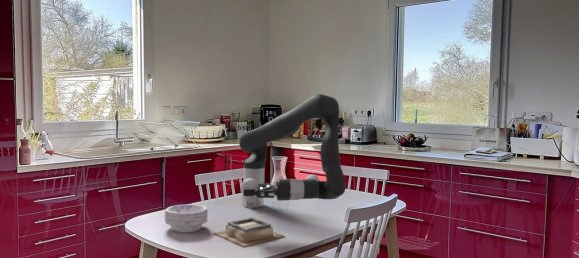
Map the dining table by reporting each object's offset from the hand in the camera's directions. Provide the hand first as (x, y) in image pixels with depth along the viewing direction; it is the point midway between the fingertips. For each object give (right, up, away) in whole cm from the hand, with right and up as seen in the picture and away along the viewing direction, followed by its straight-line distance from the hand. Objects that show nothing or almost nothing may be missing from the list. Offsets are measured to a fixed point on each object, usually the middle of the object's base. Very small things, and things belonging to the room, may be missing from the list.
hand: (242, 191), depth 167 cm
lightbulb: (+2, -7, +1) cm, 7 cm away
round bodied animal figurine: (+29, -10, +79) cm, 85 cm away
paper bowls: (-22, -15, +8) cm, 28 cm away
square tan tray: (+2, -16, +2) cm, 16 cm away
